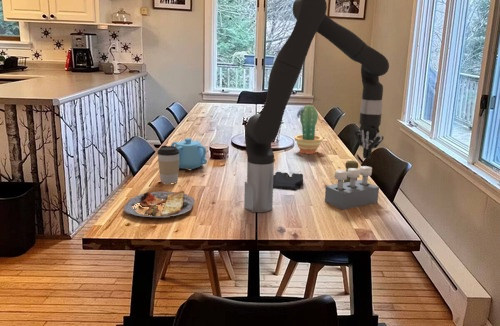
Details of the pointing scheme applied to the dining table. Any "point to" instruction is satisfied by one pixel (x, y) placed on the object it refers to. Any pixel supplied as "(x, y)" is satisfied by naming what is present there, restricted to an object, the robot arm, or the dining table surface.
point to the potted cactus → (308, 130)
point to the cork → (350, 165)
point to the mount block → (351, 195)
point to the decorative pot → (190, 154)
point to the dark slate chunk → (287, 181)
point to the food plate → (173, 203)
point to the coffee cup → (168, 164)
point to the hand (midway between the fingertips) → (366, 158)
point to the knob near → (340, 178)
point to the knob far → (365, 174)
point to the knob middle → (353, 176)
